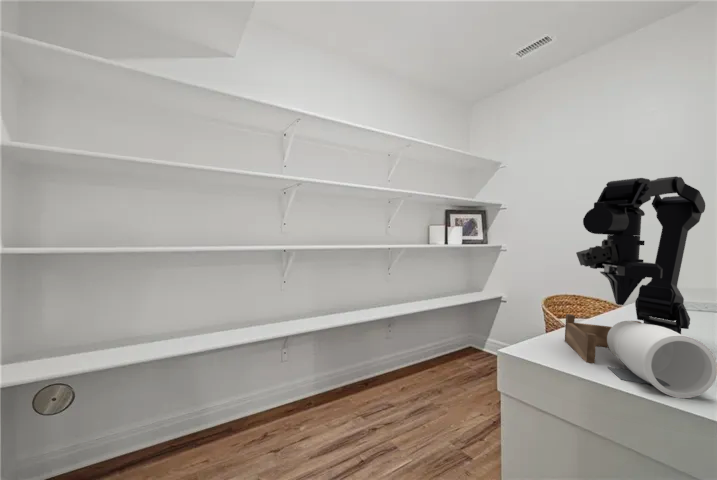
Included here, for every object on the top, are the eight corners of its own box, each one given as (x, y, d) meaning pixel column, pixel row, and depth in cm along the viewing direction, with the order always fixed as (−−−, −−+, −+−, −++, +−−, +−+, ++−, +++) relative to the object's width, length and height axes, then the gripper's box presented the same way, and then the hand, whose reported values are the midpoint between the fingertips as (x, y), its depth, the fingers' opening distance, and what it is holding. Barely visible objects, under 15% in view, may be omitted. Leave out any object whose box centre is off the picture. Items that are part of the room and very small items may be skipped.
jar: (653, 369, 68) (714, 404, 53) (597, 360, 70) (641, 391, 55) (659, 319, 67) (722, 341, 53) (603, 311, 70) (649, 330, 55)
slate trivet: (655, 374, 64) (655, 373, 64) (674, 387, 58) (674, 386, 58) (607, 367, 66) (607, 366, 66) (621, 379, 60) (621, 378, 60)
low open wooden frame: (637, 349, 78) (638, 321, 78) (677, 375, 64) (679, 340, 64) (564, 340, 83) (566, 313, 83) (586, 362, 69) (588, 329, 68)
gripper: (568, 234, 83) (565, 294, 84) (598, 233, 65) (594, 310, 66) (619, 236, 80) (616, 298, 80) (666, 236, 62) (661, 316, 62)
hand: (619, 304), depth 72 cm, fingers closed
